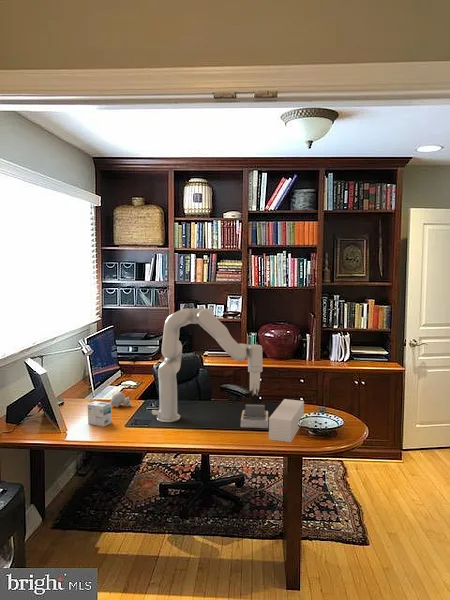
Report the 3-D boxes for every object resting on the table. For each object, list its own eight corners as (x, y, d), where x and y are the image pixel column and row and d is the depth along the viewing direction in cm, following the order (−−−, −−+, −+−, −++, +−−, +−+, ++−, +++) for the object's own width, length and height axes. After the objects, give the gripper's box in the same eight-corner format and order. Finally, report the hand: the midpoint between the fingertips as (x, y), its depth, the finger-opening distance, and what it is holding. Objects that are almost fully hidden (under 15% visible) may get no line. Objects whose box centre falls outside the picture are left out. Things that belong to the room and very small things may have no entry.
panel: (245, 420, 247) (245, 405, 246) (245, 419, 249) (245, 404, 248) (264, 421, 246) (264, 406, 245) (264, 419, 248) (264, 405, 247)
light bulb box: (112, 423, 247) (111, 402, 246) (103, 427, 241) (103, 406, 240) (96, 420, 251) (95, 400, 250) (87, 424, 245) (87, 403, 244)
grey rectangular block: (290, 442, 221) (291, 420, 220) (268, 439, 224) (269, 417, 223) (303, 420, 251) (304, 401, 250) (284, 418, 254) (284, 398, 253)
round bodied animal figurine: (126, 413, 270) (131, 399, 269) (107, 404, 271) (112, 391, 270) (130, 408, 277) (135, 396, 276) (111, 400, 278) (116, 387, 277)
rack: (240, 427, 240) (240, 419, 240) (242, 416, 256) (242, 409, 256) (267, 428, 239) (268, 420, 239) (268, 417, 255) (268, 410, 254)
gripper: (248, 365, 253) (248, 398, 254) (247, 371, 238) (247, 407, 240) (262, 365, 252) (262, 398, 254) (262, 372, 237) (262, 407, 239)
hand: (255, 402), depth 247 cm, fingers closed
